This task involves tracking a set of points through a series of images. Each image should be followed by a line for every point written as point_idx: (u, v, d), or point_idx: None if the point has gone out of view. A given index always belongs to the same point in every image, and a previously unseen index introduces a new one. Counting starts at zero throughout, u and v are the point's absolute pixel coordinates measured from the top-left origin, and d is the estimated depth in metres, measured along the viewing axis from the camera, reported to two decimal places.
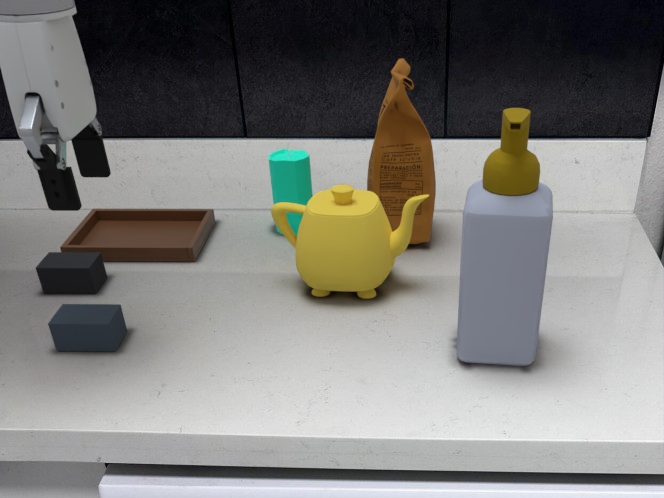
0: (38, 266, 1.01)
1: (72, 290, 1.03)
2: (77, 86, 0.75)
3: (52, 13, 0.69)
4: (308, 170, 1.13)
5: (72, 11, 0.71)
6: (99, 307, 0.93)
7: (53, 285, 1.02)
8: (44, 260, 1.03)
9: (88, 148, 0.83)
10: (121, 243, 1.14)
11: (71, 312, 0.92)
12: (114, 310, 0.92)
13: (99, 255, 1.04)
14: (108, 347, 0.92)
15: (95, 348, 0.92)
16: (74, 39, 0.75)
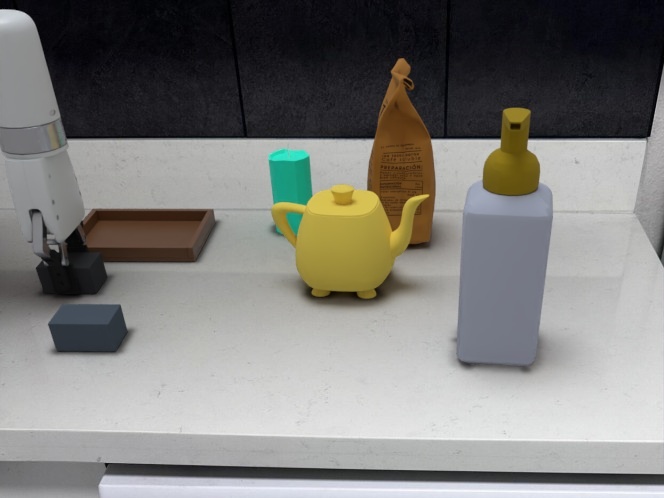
0: (38, 266, 1.01)
1: None
2: (69, 199, 0.97)
3: (50, 151, 0.91)
4: (308, 170, 1.13)
5: (65, 147, 0.93)
6: (99, 307, 0.93)
7: None
8: None
9: None
10: (121, 243, 1.14)
11: (71, 312, 0.92)
12: (114, 310, 0.92)
13: (99, 255, 1.04)
14: (108, 347, 0.92)
15: (95, 348, 0.92)
16: (67, 164, 0.97)
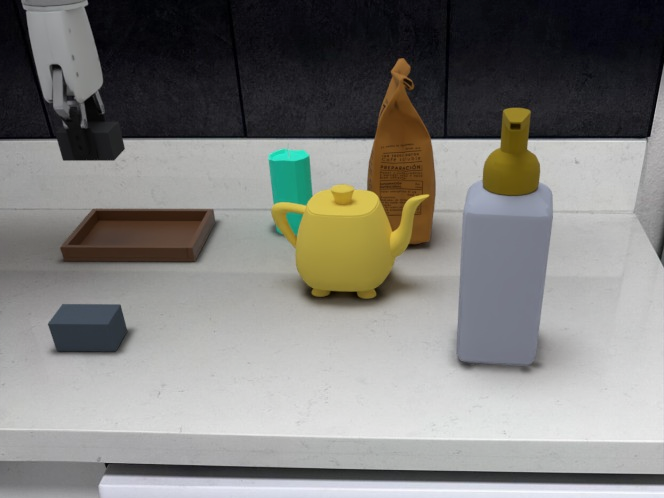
0: (58, 131, 1.03)
1: None
2: (88, 60, 0.99)
3: (70, 4, 0.93)
4: (308, 170, 1.13)
5: (84, 3, 0.95)
6: (99, 307, 0.93)
7: None
8: (63, 127, 1.05)
9: None
10: (121, 243, 1.14)
11: (71, 312, 0.92)
12: (114, 310, 0.92)
13: (117, 124, 1.06)
14: (108, 347, 0.92)
15: (95, 348, 0.92)
16: (86, 24, 0.98)
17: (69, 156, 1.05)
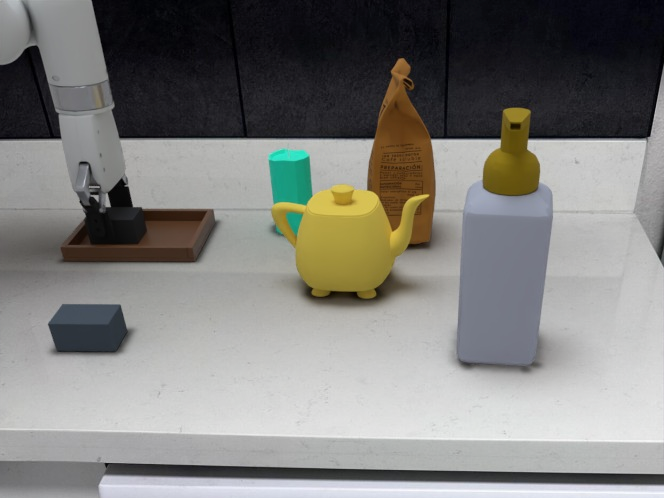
0: None
1: (116, 241, 1.14)
2: (113, 155, 1.08)
3: (99, 108, 1.02)
4: (308, 170, 1.13)
5: (111, 106, 1.04)
6: (99, 307, 0.93)
7: None
8: None
9: (118, 194, 1.16)
10: None
11: (71, 312, 0.92)
12: (114, 310, 0.92)
13: (140, 209, 1.15)
14: (108, 347, 0.92)
15: (95, 348, 0.92)
16: (112, 122, 1.07)
17: None
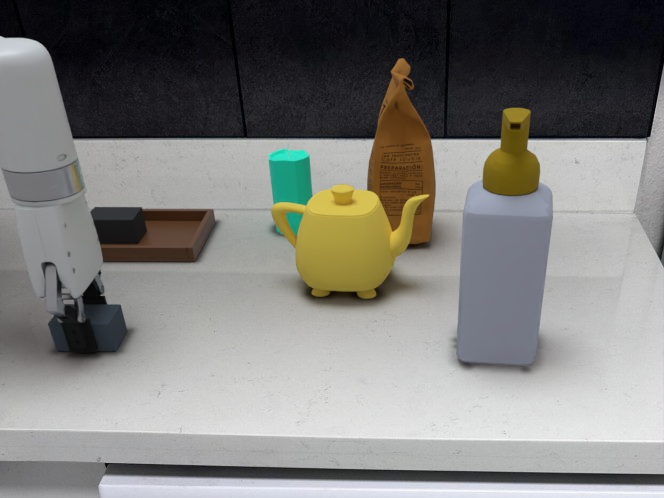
0: None
1: (116, 241, 1.14)
2: (86, 249, 0.86)
3: (65, 197, 0.80)
4: (308, 170, 1.13)
5: (82, 192, 0.82)
6: (99, 307, 0.93)
7: (99, 235, 1.13)
8: (91, 213, 1.13)
9: None
10: None
11: None
12: (114, 310, 0.92)
13: (140, 209, 1.15)
14: (108, 347, 0.92)
15: None
16: (84, 209, 0.85)
17: None
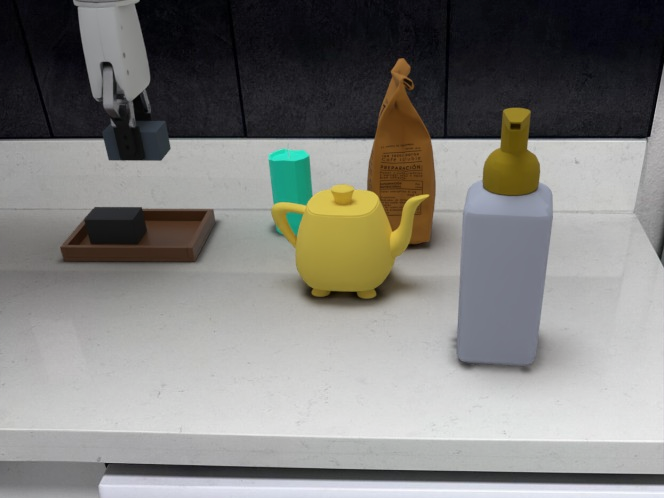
0: (86, 218, 1.12)
1: (116, 241, 1.14)
2: (138, 58, 0.97)
3: (123, 0, 0.91)
4: (308, 170, 1.13)
5: (136, 0, 0.93)
6: (146, 122, 1.04)
7: (99, 235, 1.13)
8: (91, 213, 1.13)
9: None
10: None
11: None
12: (160, 124, 1.03)
13: (140, 209, 1.15)
14: (155, 156, 1.02)
15: None
16: (136, 21, 0.96)
17: (96, 240, 1.14)
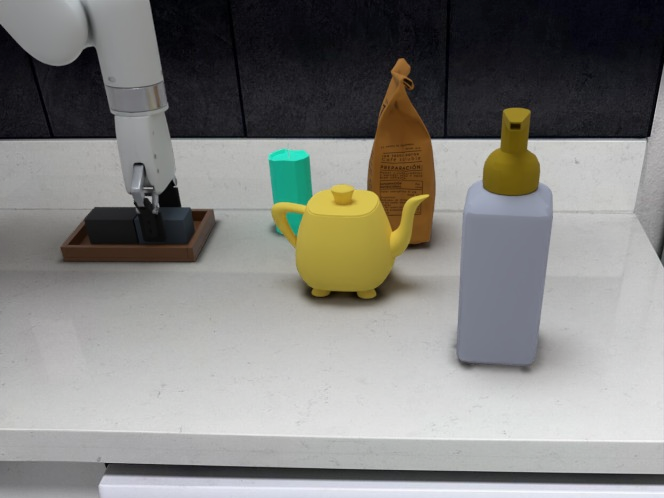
0: (86, 218, 1.12)
1: (116, 241, 1.14)
2: (166, 156, 1.08)
3: (154, 110, 1.02)
4: (308, 170, 1.13)
5: (166, 107, 1.04)
6: (173, 209, 1.14)
7: (99, 235, 1.13)
8: (91, 213, 1.13)
9: (167, 195, 1.16)
10: None
11: None
12: (186, 211, 1.14)
13: None
14: (181, 240, 1.13)
15: (171, 241, 1.13)
16: (165, 123, 1.07)
17: (96, 240, 1.14)
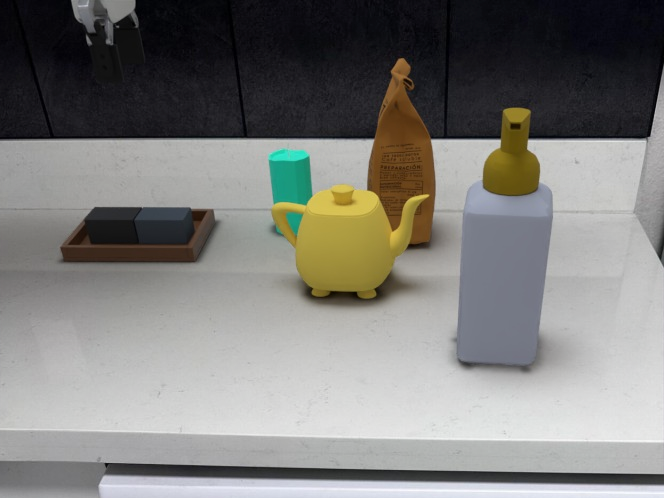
0: (86, 218, 1.12)
1: (116, 241, 1.14)
2: None
3: None
4: (308, 170, 1.13)
5: None
6: (173, 209, 1.14)
7: (99, 235, 1.13)
8: (91, 213, 1.13)
9: (127, 37, 1.01)
10: None
11: (151, 212, 1.14)
12: (186, 211, 1.14)
13: (140, 209, 1.15)
14: (181, 240, 1.13)
15: (171, 241, 1.13)
16: None
17: (96, 240, 1.14)
